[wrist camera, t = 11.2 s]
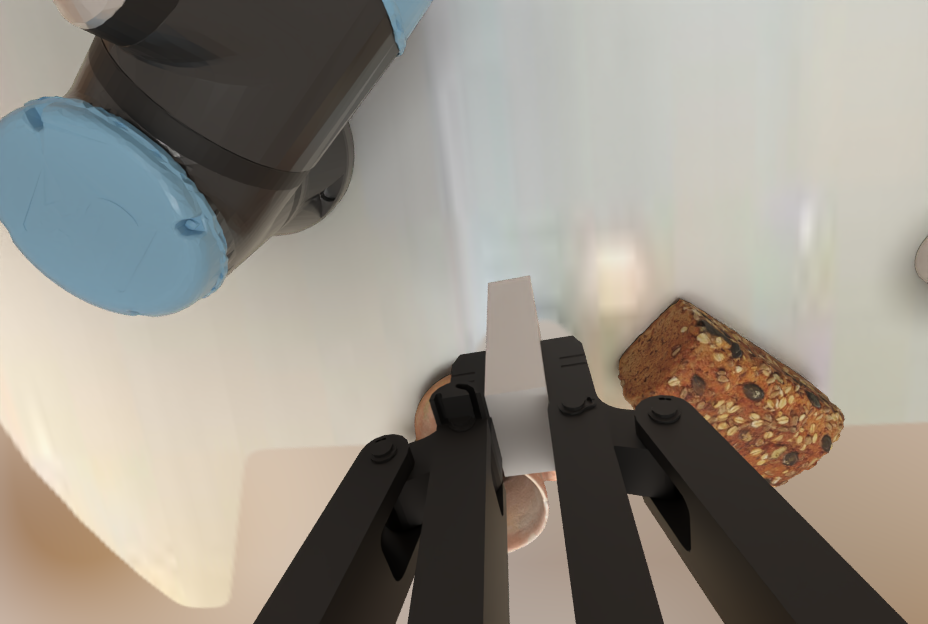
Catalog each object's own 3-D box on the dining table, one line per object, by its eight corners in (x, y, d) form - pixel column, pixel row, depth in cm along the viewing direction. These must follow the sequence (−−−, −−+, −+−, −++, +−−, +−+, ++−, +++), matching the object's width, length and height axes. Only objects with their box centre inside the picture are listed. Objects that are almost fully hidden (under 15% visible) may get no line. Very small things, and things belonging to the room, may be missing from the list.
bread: (608, 361, 54) (630, 424, 45) (682, 285, 50) (722, 339, 41) (737, 441, 58) (780, 513, 49) (815, 378, 54) (878, 444, 45)
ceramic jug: (545, 340, 53) (561, 434, 41) (569, 445, 60) (588, 554, 47) (382, 372, 56) (349, 468, 44) (420, 469, 63) (402, 577, 50)
